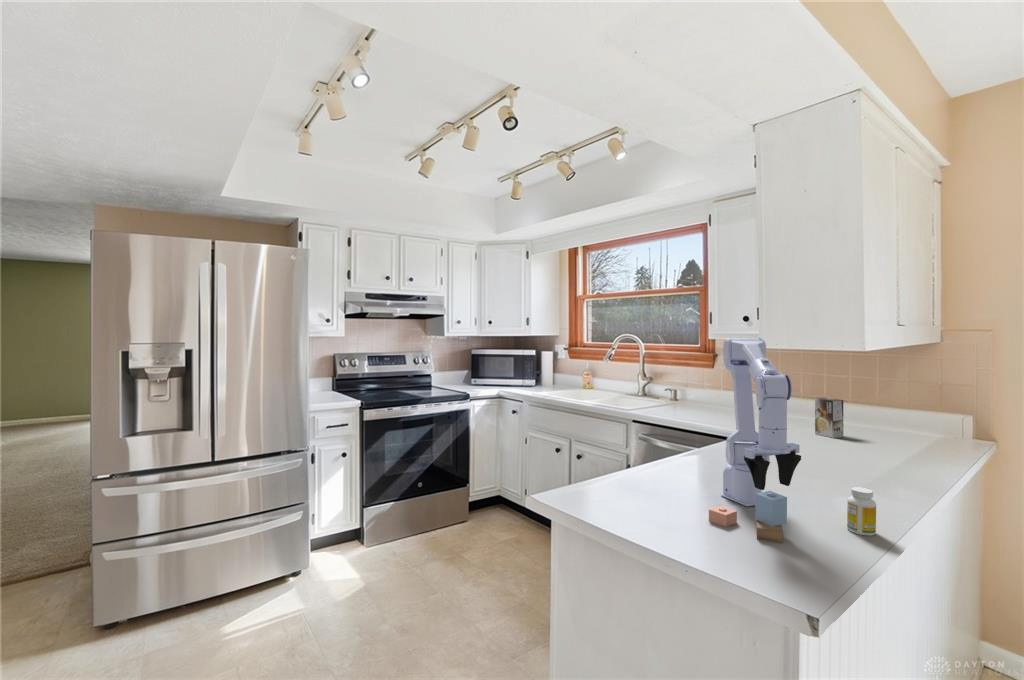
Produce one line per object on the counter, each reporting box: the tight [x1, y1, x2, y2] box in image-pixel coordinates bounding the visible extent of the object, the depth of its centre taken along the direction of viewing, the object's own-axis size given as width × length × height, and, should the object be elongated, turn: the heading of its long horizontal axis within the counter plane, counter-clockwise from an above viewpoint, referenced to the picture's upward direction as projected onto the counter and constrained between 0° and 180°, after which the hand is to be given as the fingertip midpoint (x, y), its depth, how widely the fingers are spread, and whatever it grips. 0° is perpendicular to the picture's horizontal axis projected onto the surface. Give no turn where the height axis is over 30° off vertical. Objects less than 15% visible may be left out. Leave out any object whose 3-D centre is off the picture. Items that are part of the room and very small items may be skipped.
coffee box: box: [814, 397, 844, 439], centre depth 212 cm, size 9×6×16 cm
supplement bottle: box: [846, 486, 877, 536], centre depth 111 cm, size 5×5×10 cm
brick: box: [708, 505, 738, 528], centre depth 118 cm, size 4×4×3 cm
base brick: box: [755, 519, 784, 544], centre depth 111 cm, size 10×5×3 cm, turn 155°
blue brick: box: [754, 490, 788, 527], centre depth 111 cm, size 4×4×6 cm
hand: (772, 486), depth 112 cm, fingers open, 7 cm apart
